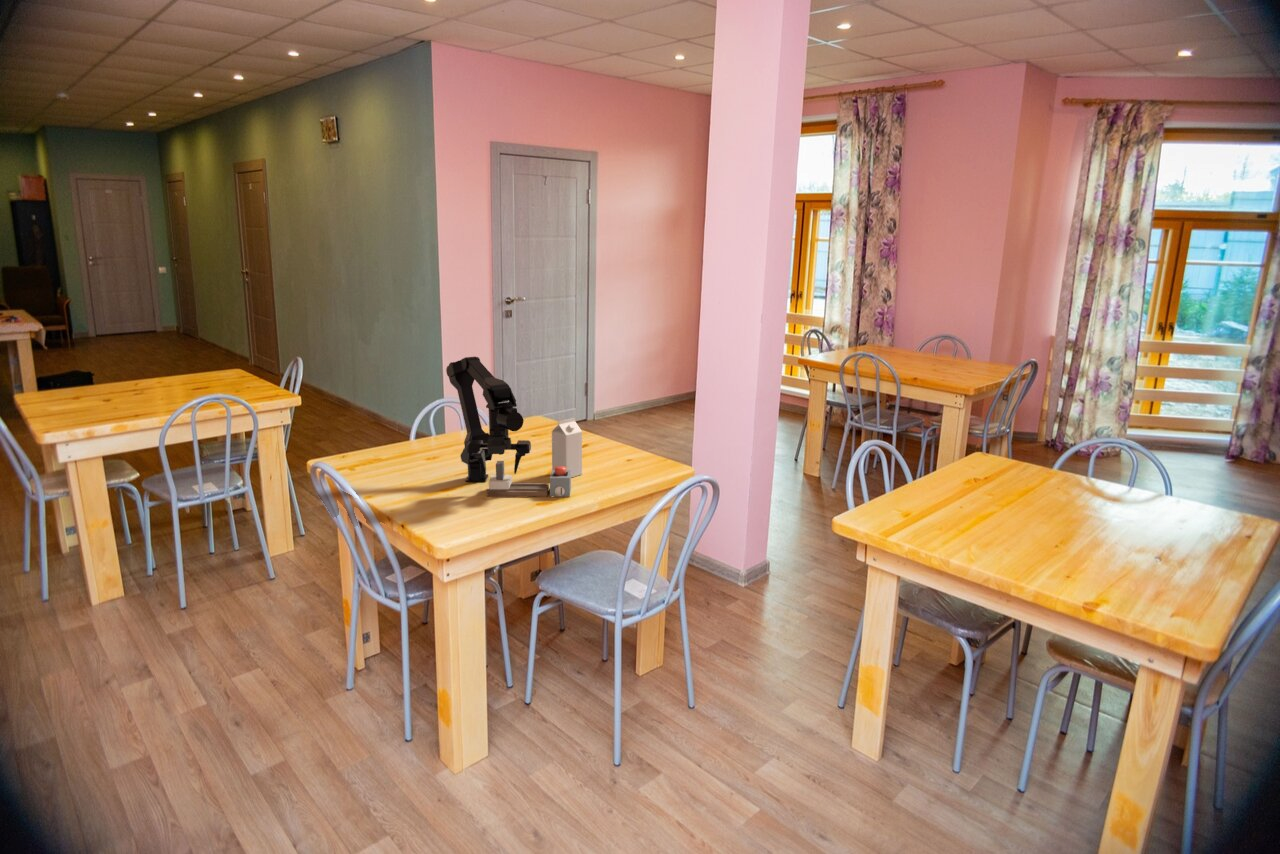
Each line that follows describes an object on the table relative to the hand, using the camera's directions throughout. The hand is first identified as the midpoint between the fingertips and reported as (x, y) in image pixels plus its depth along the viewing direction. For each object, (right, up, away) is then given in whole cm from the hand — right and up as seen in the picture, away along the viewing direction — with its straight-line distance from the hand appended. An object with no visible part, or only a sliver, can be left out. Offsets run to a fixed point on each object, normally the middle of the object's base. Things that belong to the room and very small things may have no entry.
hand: (500, 473), depth 234 cm
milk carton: (+19, -2, +20) cm, 27 cm away
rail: (+5, -6, +2) cm, 8 cm away
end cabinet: (+18, -6, +2) cm, 19 cm away
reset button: (+19, 0, +1) cm, 18 cm away
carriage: (0, -4, +1) cm, 4 cm away
